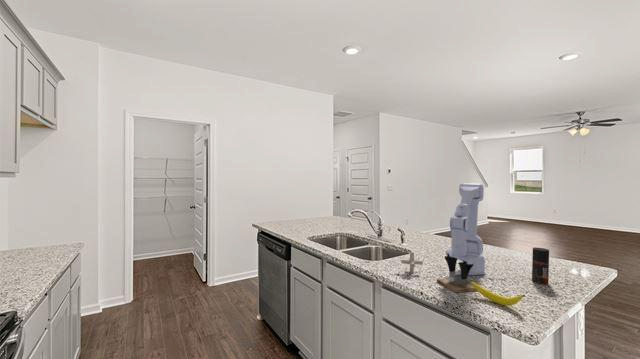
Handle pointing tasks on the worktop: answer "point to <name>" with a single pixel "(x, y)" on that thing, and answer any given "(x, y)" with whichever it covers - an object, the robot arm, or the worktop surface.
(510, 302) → the banana
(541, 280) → the deodorant
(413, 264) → the pipe connector
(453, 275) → the plug
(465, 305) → the worktop surface
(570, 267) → the worktop surface
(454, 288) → the board
